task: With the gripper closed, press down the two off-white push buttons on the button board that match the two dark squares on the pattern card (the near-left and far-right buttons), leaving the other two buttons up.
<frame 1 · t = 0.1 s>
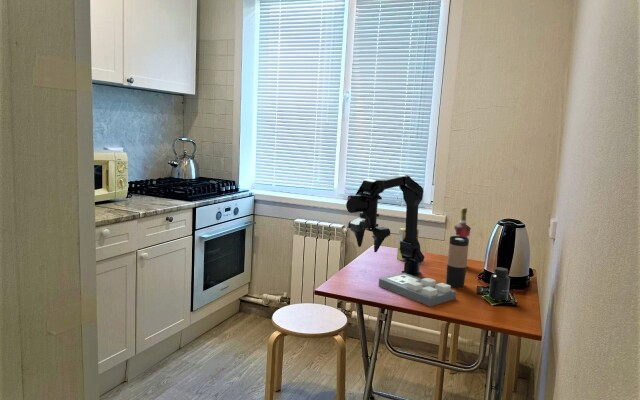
hand: (367, 249, 187), 15 cm above the table, tool pointing down, fingers open, 9 cm apart
button board: (415, 292, 183), on the table
supplement bottle: (497, 299, 180), on the table
liquor: (458, 266, 222), on the table
travel mug: (454, 285, 194), on the table
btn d: (429, 292, 173), point 3 cm above the table, slide at 0.0 cm
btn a: (428, 283, 183), point 3 cm above the table, slide at 0.0 cm
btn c: (442, 289, 178), point 3 cm above the table, slide at 0.0 cm
candy box: (406, 259, 230), on the table
btn b: (414, 287, 178), point 3 cm above the table, slide at 0.0 cm
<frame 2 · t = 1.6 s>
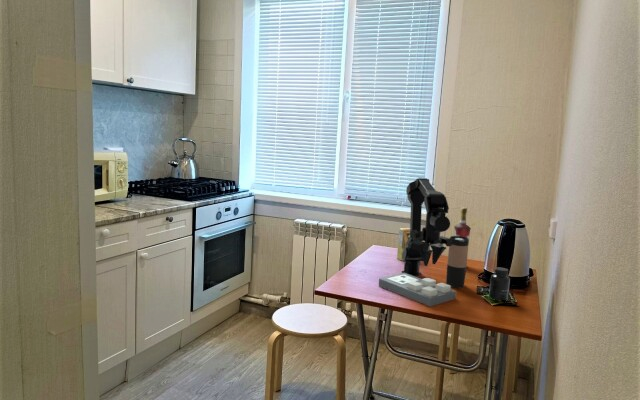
hand: (429, 265, 182), 11 cm above the table, tool pointing down, fingers open, 5 cm apart
nothing on the table moved.
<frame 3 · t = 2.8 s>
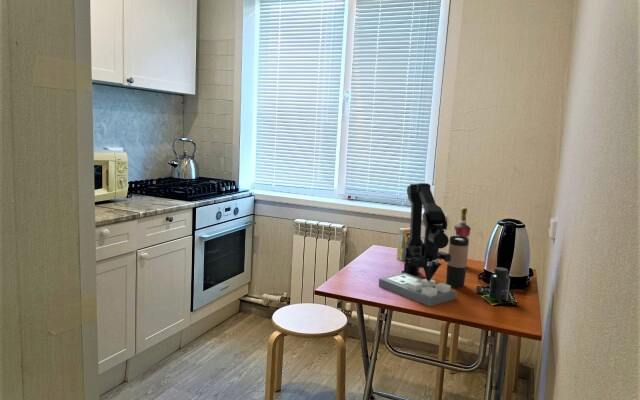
hand: (428, 280, 183), 5 cm above the table, tool pointing down, fingers closed, pressing on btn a
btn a: (428, 284, 183), point 3 cm above the table, slide at 0.3 cm, touching gripper
everything else where it was.
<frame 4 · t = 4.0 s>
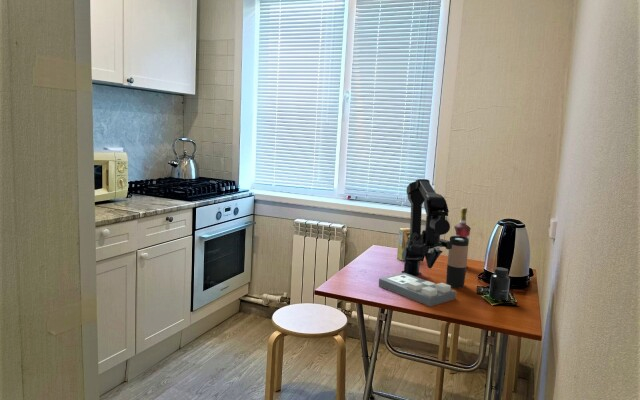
hand: (429, 267, 182), 10 cm above the table, tool pointing down, fingers closed
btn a: (427, 287, 183), point 2 cm above the table, slide at 1.3 cm
everything else where it was.
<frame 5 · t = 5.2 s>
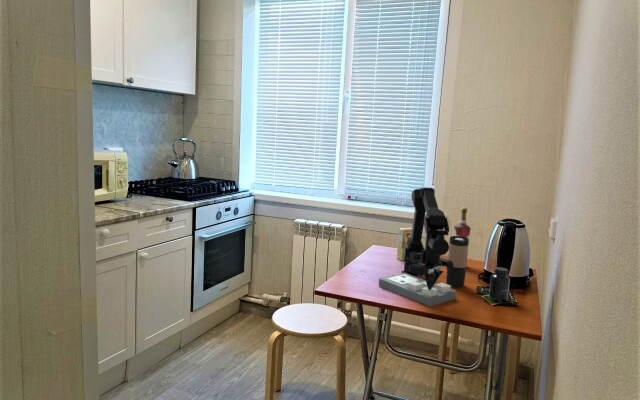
hand: (429, 288, 173), 5 cm above the table, tool pointing down, fingers closed, pressing on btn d
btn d: (429, 293, 173), point 3 cm above the table, slide at 0.1 cm, touching gripper
everything else where it was.
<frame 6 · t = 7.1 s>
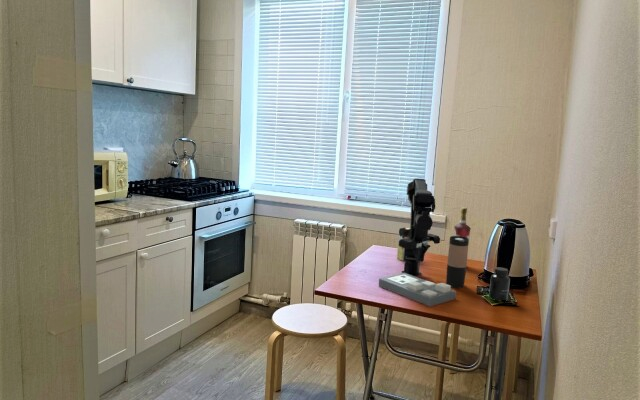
hand: (417, 262, 186), 11 cm above the table, tool pointing down, fingers closed
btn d: (429, 296, 173), point 2 cm above the table, slide at 1.3 cm
everything else where it was.
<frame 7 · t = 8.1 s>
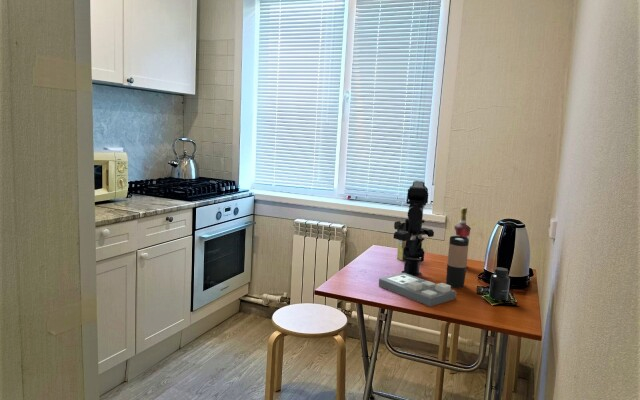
hand: (412, 254, 193), 12 cm above the table, tool pointing down, fingers closed
nothing on the table moved.
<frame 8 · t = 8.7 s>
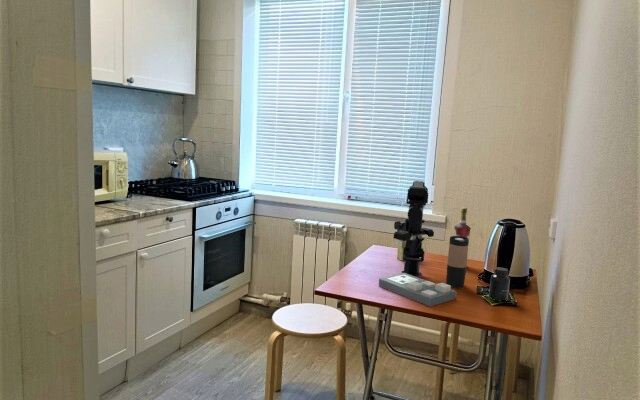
hand: (412, 254, 193), 12 cm above the table, tool pointing down, fingers closed
nothing on the table moved.
at the end: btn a slide at 1.3 cm; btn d slide at 1.3 cm; btn b slide at 0.0 cm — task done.
